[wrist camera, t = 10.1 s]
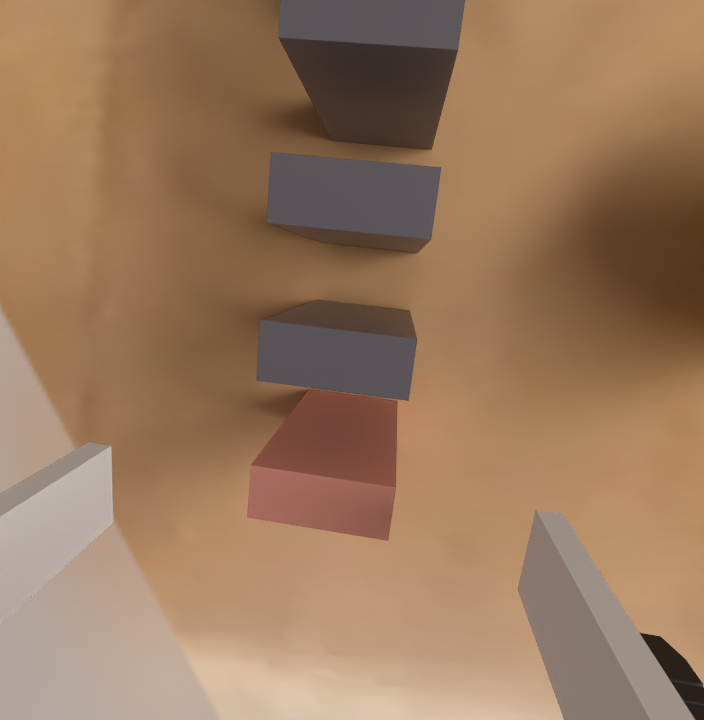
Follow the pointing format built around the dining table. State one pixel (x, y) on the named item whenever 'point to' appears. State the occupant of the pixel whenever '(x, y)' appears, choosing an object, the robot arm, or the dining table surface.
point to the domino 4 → (330, 466)
